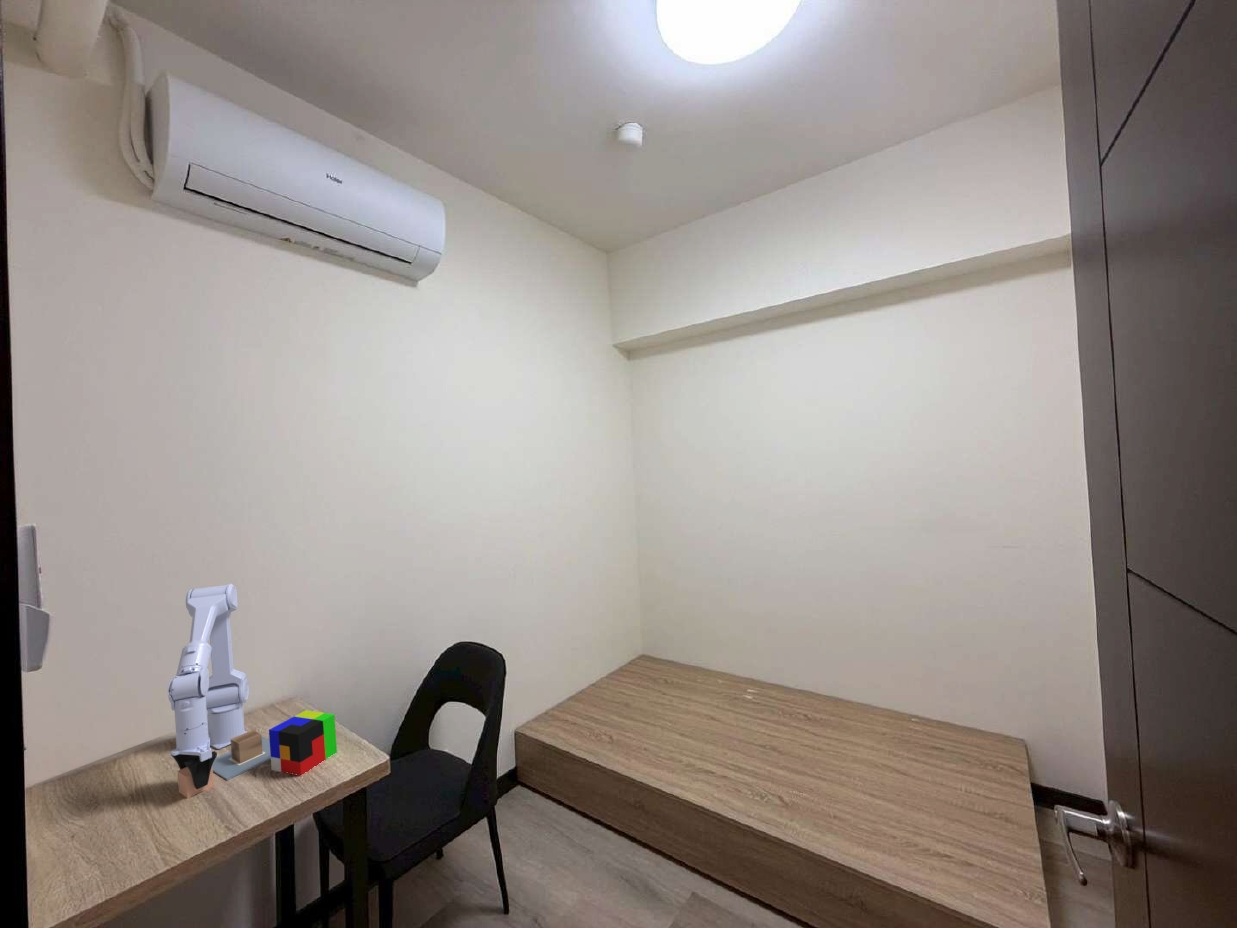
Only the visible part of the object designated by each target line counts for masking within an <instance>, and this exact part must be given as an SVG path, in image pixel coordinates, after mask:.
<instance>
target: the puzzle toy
mask: <svg viewBox="0 0 1237 928" xmlns="http://www.w3.org/2000/svg"><path fill="white" fill-rule="evenodd" d="M335 718H336V716H335V714H334V713H327V712H321V711H313V710H304V711H302V712H300V713H298V714H296V715H294V716H292V717H291V718H289V719H287V720H285V721H283V722H280V723H279V724H277V725H275V726H274V727H272V728H269V729H268V736H269V738H268V739H269V740H270V754H271V760H270V765H271V771H274V772H279V773H280V772H281V773H284V772H288V773H287V774H289V773H293V774H297V775H296V776H298V775H302V774H304V773H305V772H307V773H308V772H310V771H311V770H313V769H314V768H313V767H314V766H316V767H317V765H318V764H319V763H321V762H322V761H324V760H325V761H327V760H328V759H329V758H328V757H330V756H331V755H333V754H335V753H336V754H338V749H337V748H338V746H337V745H338V744H337V731H336V719H335ZM336 754H335V755H336ZM333 756H334V755H333ZM327 758H328V759H327ZM330 758H331V757H330ZM326 759H327V760H326ZM325 761H324V762H325ZM322 763H323V762H322ZM322 763H321V764H322ZM319 765H320V764H319ZM319 765H318V766H319ZM312 768H313V769H312ZM310 769H311V770H310ZM309 770H310V771H309ZM293 774H292V775H293ZM305 774H306V773H305ZM305 774H304V775H305ZM302 776H303V775H302Z"/></svg>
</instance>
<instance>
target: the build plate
mask: <svg viewBox="0 0 1237 928" xmlns="http://www.w3.org/2000/svg"><path fill="white" fill-rule="evenodd" d="M262 750H263V754H261V755H258V756H256V757H254V758H252V759H250V760H247V761H245V762H243V763H241V764H240V763H238V762H237V761H235V760H233V759H232V754H231V750H229V751H228V752H226V753H224V754H221V755H219V756H217V757H216V758H215V760H214V762H213V764H212V766H213V773H214V774H216V775H218V776H219V777H221V778H223V779H224V780H226V781H229V780H230V779H233V778H235V777H237V776H240V775H242V774H244V773H245V772H248V771H251V770H252V769H254V768H256V767H258V766H260V765H263V764H265V763H267V762H269V761H271V754H270V740H269V738H268V737H266V736H263V737H262Z"/></svg>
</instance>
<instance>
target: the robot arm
mask: <svg viewBox="0 0 1237 928" xmlns="http://www.w3.org/2000/svg"><path fill="white" fill-rule="evenodd" d="M238 602H239V601H238V591H237V587H236V586H235V585H234V584H233V583H229V584H228V583H227V584H224V585H216V586H215V585H213V586H207V587H206V586H205V587H199V588H191V589H189V591H188V592H187V593H186V595H185V606H186V607H185V608H186V610H187V611H188V614H189V616H190V617H192V619H191V620H192V621H191V628H190V637H189V643H188V644H187V645H185V646H184V647H183V648H182V649H181V653H180V657H179V662H178V667H177V671H176V674H175V677H174V678H171V679H170V681H169V684H168V687H167V697H168V701H169V702H170V707H171V710H172V711H174V721H175V722H174V723H175V725H174V726H175V734H176V736H175V737H176V738H175V744H176V748H175V749H173V750H171V751H170V756H171V757H172V759H173V760H174V761H175V762H176V764H177V765H178V768H179V770H181V769H183V768H186V767H188V769H189V770H190V772H191V775H192V779H193V783H194V786H195V788H196V789H199V788H202V787H204V786H206V785H208V781H209V776H210V771H211V767H212V764H213V762H214V760H215V758H217V757H218V752H217V751H215V750H214V751H212V748H215V749H216V750H221V749H223V748H225V747H227V746H229V745H230V746H231V740H230V739H232V738H234V737H237V736H239V735H242V734H244V733H246V732H248V731H247V730H245V717H244V716H245V715H244V704H245V703H246V702H247V700H248V699H249V697H250V685H249V681H248V675H247V673H246V672H243V671H241V670H238V669H235V668H234V667H235V666H234V664H235V663H234V652H233V640H232V639H233V638H232V623H231V622H232V621H231V614H232V612H234V611H237V610H238V607H239V605H238ZM208 642H209V643H208ZM210 659H211V660H210ZM210 661H211V671H212V672H211V673H212V674H211V676H210V670H209V666H210V665H209V664H210ZM211 747H212V748H211Z"/></svg>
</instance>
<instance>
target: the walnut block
mask: <svg viewBox="0 0 1237 928" xmlns="http://www.w3.org/2000/svg"><path fill="white" fill-rule="evenodd" d="M262 736H263V735H262V734H261V733H260V732H258V731H256V730H254V729H252V730H249V731H247V732H246V733H244V734H242V735H239V736H237V737H234V738H232V739H230V740H231V744H230V751H231V754H232V759H233V760H235V761H237V762H238V763H240V764H241V763H243V762H245V761H247V760H250V759H252V758H254V757H256V756H258V755H261V754H263V750H262Z"/></svg>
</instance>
